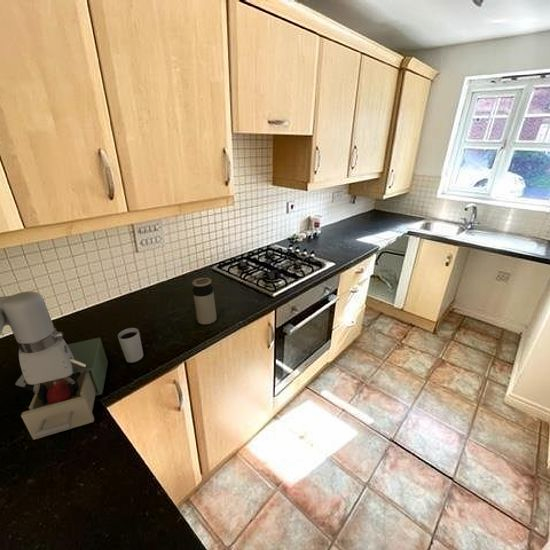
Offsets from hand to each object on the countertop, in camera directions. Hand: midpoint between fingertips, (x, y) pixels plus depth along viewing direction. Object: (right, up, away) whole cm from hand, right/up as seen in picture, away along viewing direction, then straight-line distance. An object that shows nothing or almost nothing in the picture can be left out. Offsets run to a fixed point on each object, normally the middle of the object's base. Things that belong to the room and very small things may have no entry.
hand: (60, 395), depth 81 cm
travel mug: (+29, +13, +47) cm, 56 cm away
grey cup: (+8, +3, +25) cm, 27 cm away
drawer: (+1, -6, +2) cm, 6 cm away
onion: (0, -3, +1) cm, 3 cm away
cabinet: (-4, -2, +14) cm, 15 cm away
